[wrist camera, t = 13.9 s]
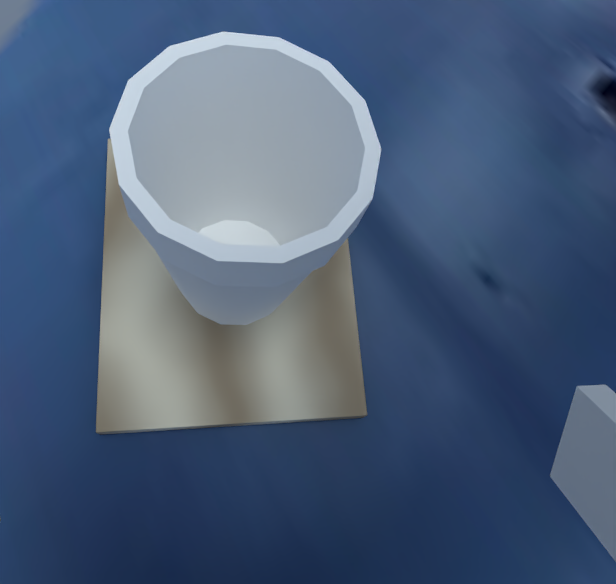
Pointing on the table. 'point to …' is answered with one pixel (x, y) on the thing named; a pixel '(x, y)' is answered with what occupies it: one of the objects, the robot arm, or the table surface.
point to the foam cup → (243, 168)
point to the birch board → (218, 345)
